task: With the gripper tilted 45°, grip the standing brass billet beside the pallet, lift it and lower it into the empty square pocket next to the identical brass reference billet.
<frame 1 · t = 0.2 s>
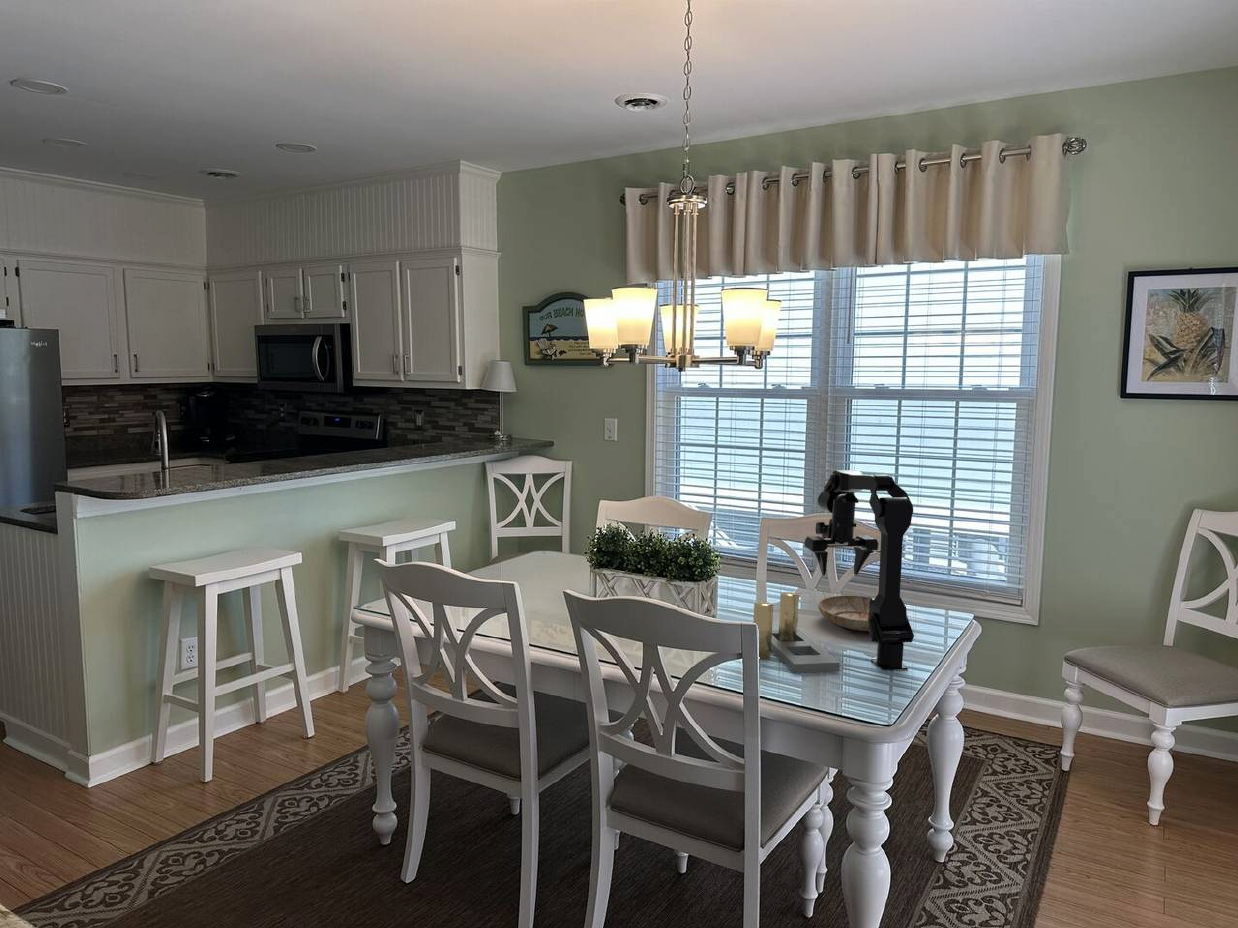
hand: (839, 574, 227), 15 cm above the table, tool pointing down, fingers open, 9 cm apart
ceramic bowl: (860, 625, 234), on the table
reference billet: (787, 644, 214), resting in pallet
pallet: (796, 653, 208), on the table
brass billet: (761, 656, 205), on the table
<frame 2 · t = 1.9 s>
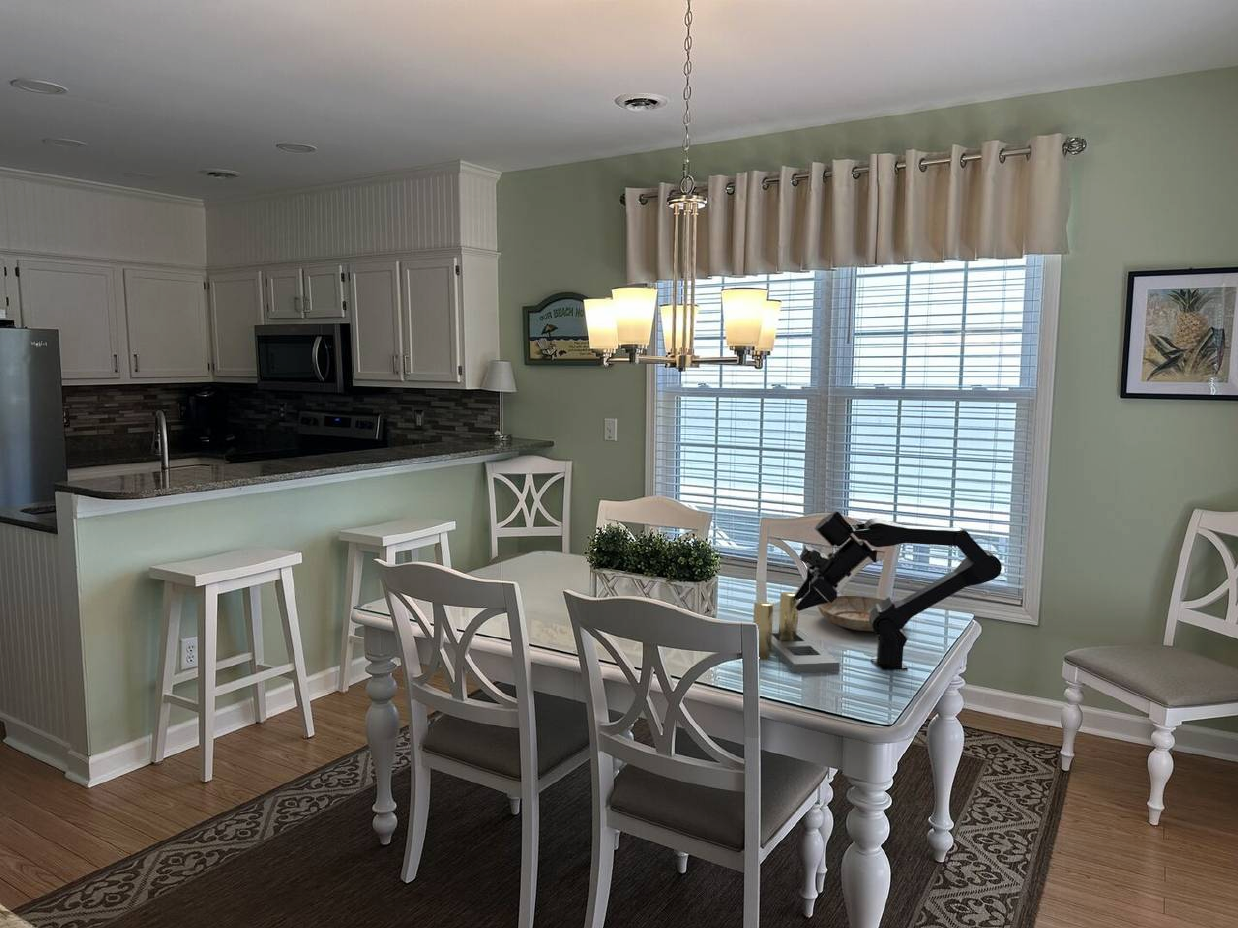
hand: (795, 603, 204), 13 cm above the table, tool tilted 45°, fingers open, 9 cm apart
nothing on the table moved.
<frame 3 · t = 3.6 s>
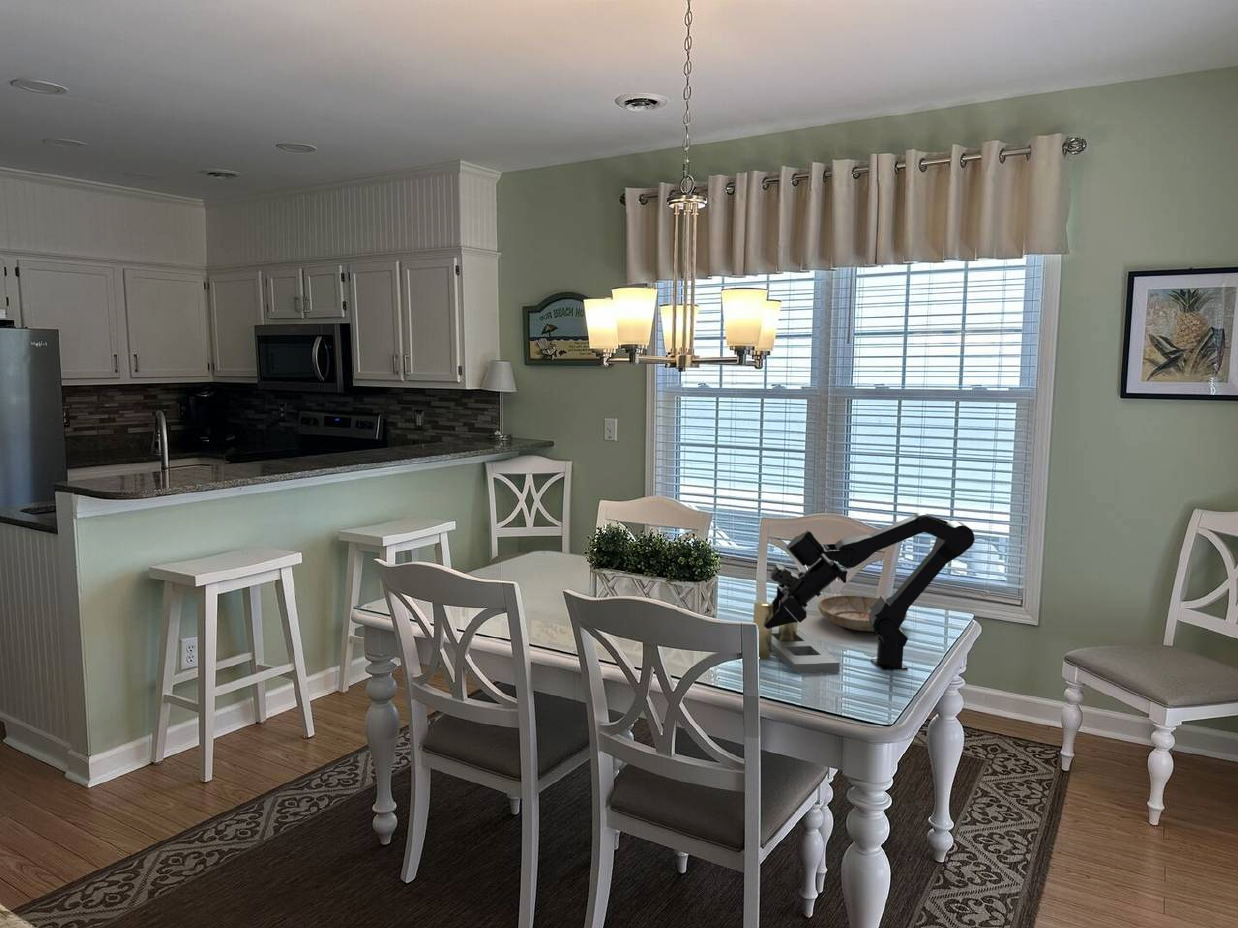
hand: (765, 621, 204), 9 cm above the table, tool tilted 45°, fingers open, 8 cm apart
nothing on the table moved.
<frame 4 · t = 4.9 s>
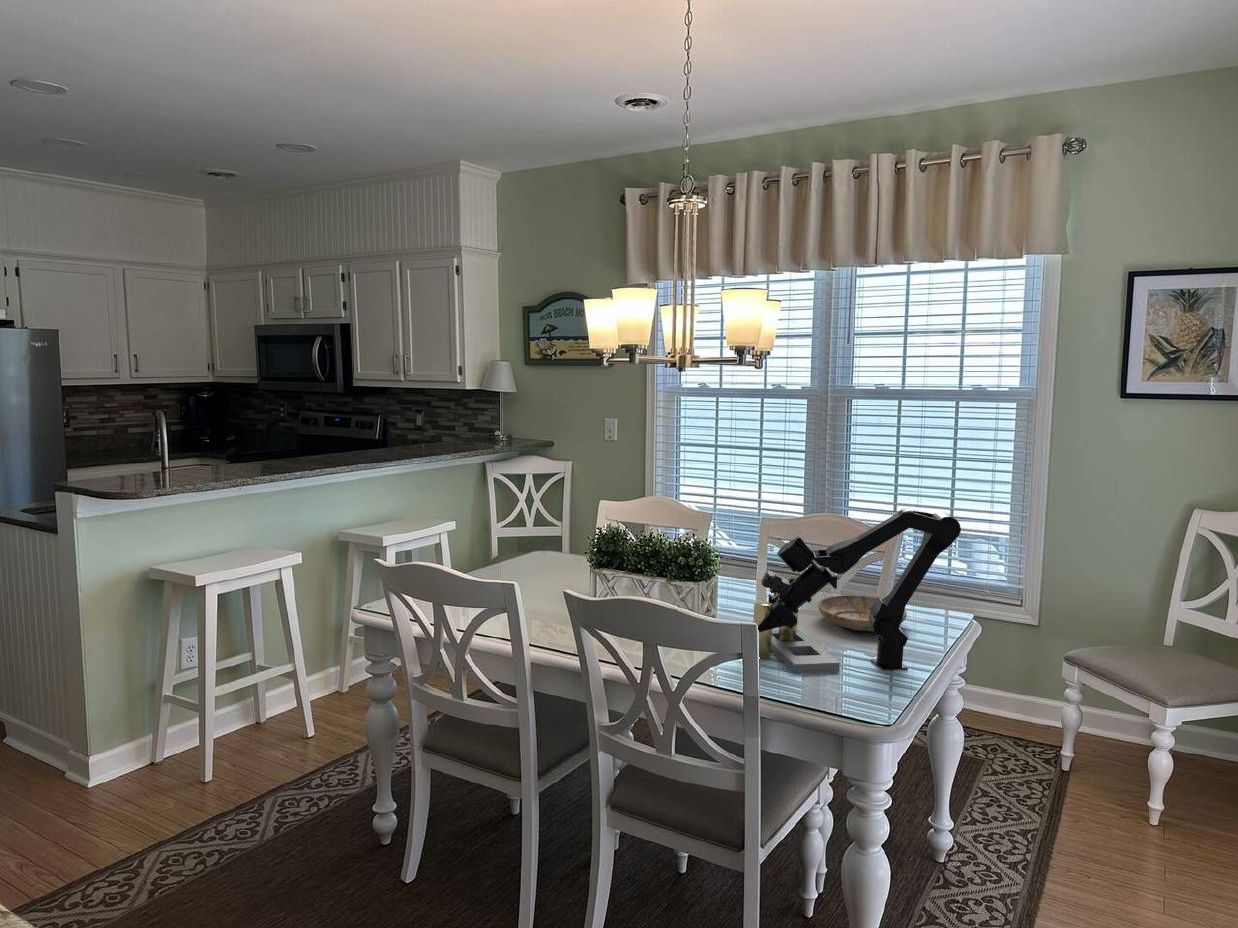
hand: (756, 627, 205), 7 cm above the table, tool tilted 45°, fingers closed on brass billet, 4 cm apart
brass billet: (761, 656, 205), on the table, touching gripper
everything else where it was.
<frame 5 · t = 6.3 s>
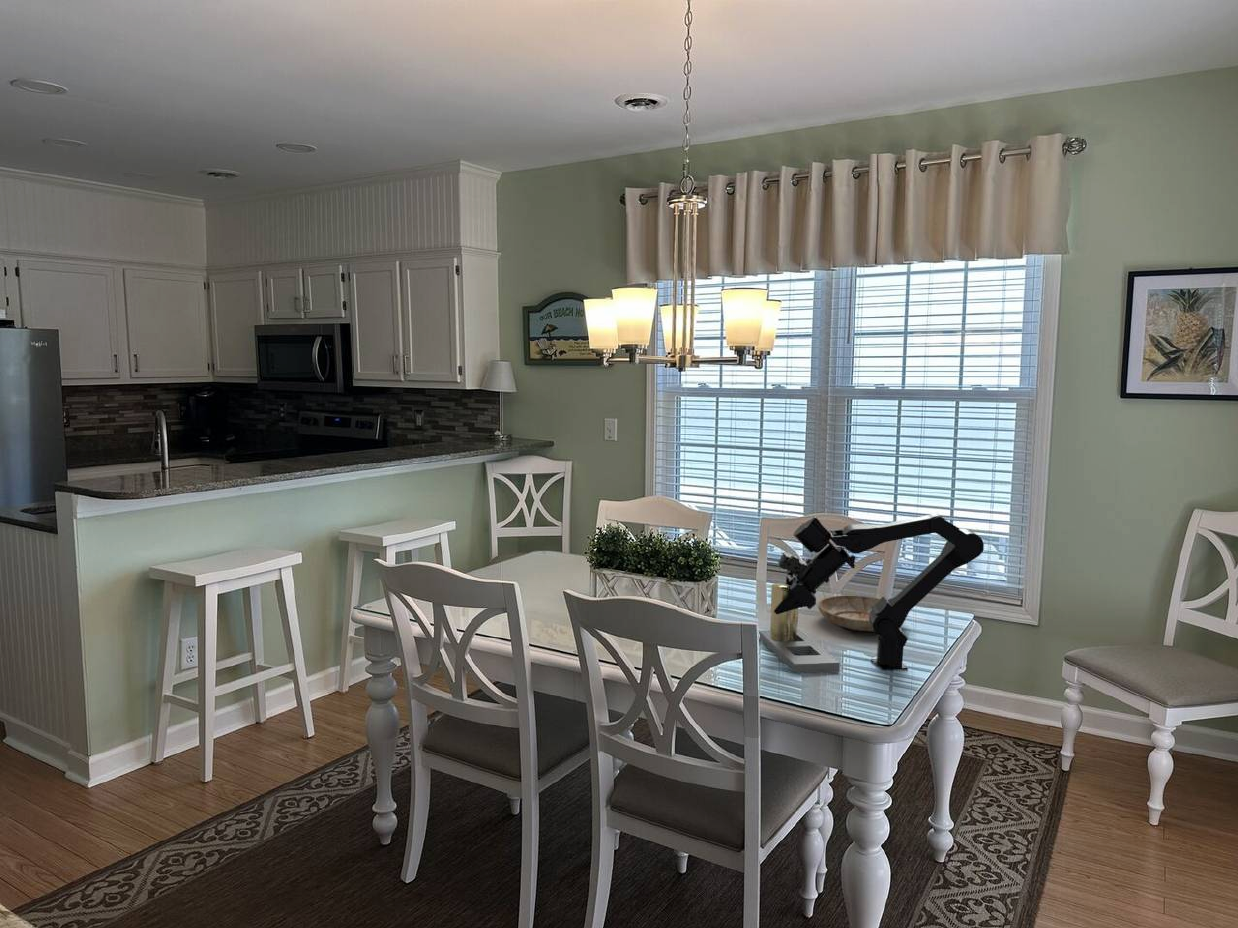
hand: (774, 609, 204), 12 cm above the table, tool tilted 45°, fingers closed on brass billet, 4 cm apart
brass billet: (779, 638, 205), point 5 cm above the table, touching gripper
everything else where it was.
when the fingers open (8 cm above the table, at t = 7.9 s): brass billet drops 1 cm, resting in pallet.
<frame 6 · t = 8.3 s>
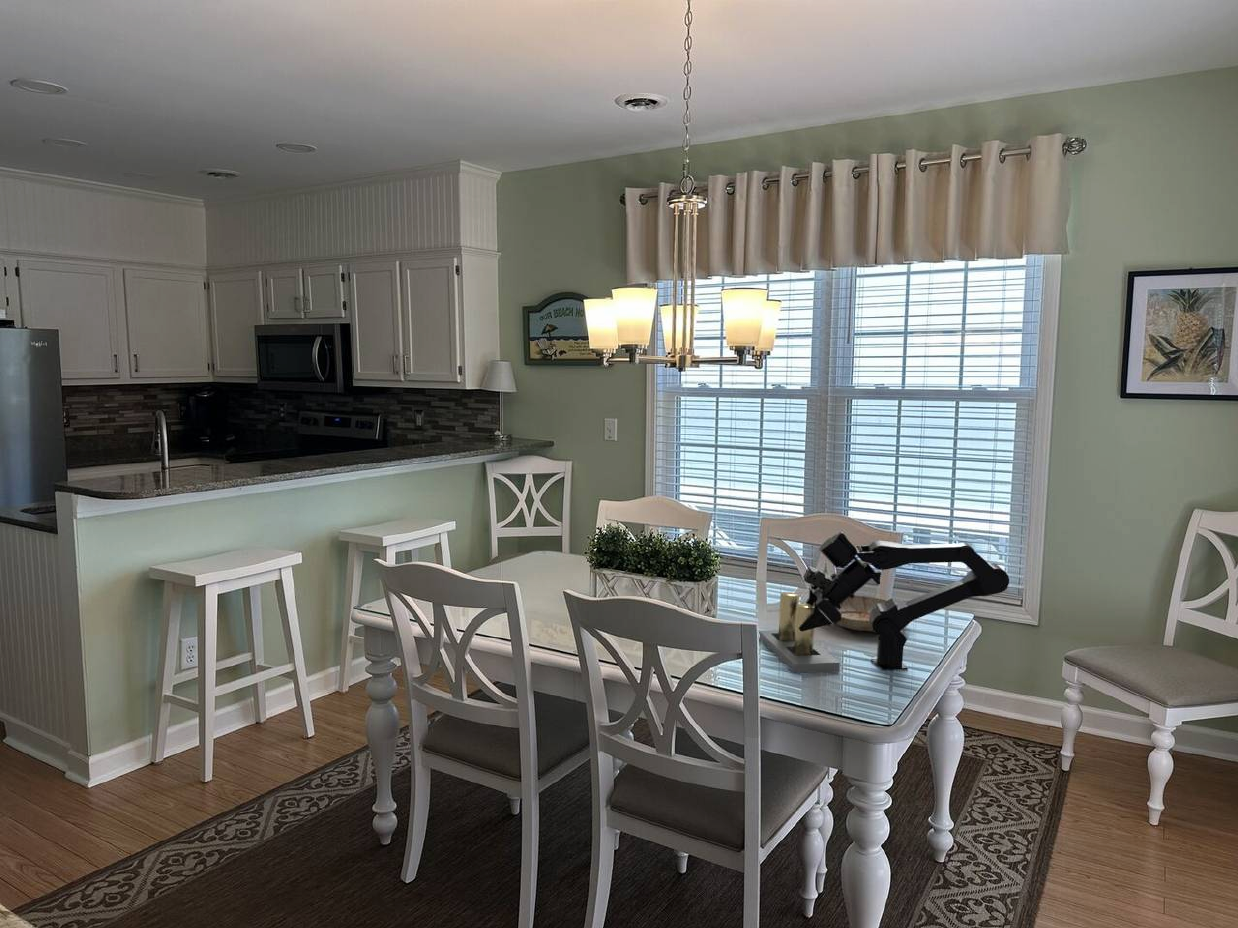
hand: (798, 623, 204), 9 cm above the table, tool tilted 45°, fingers open, 9 cm apart
brass billet: (802, 658, 205), resting in pallet
everything else where it was.
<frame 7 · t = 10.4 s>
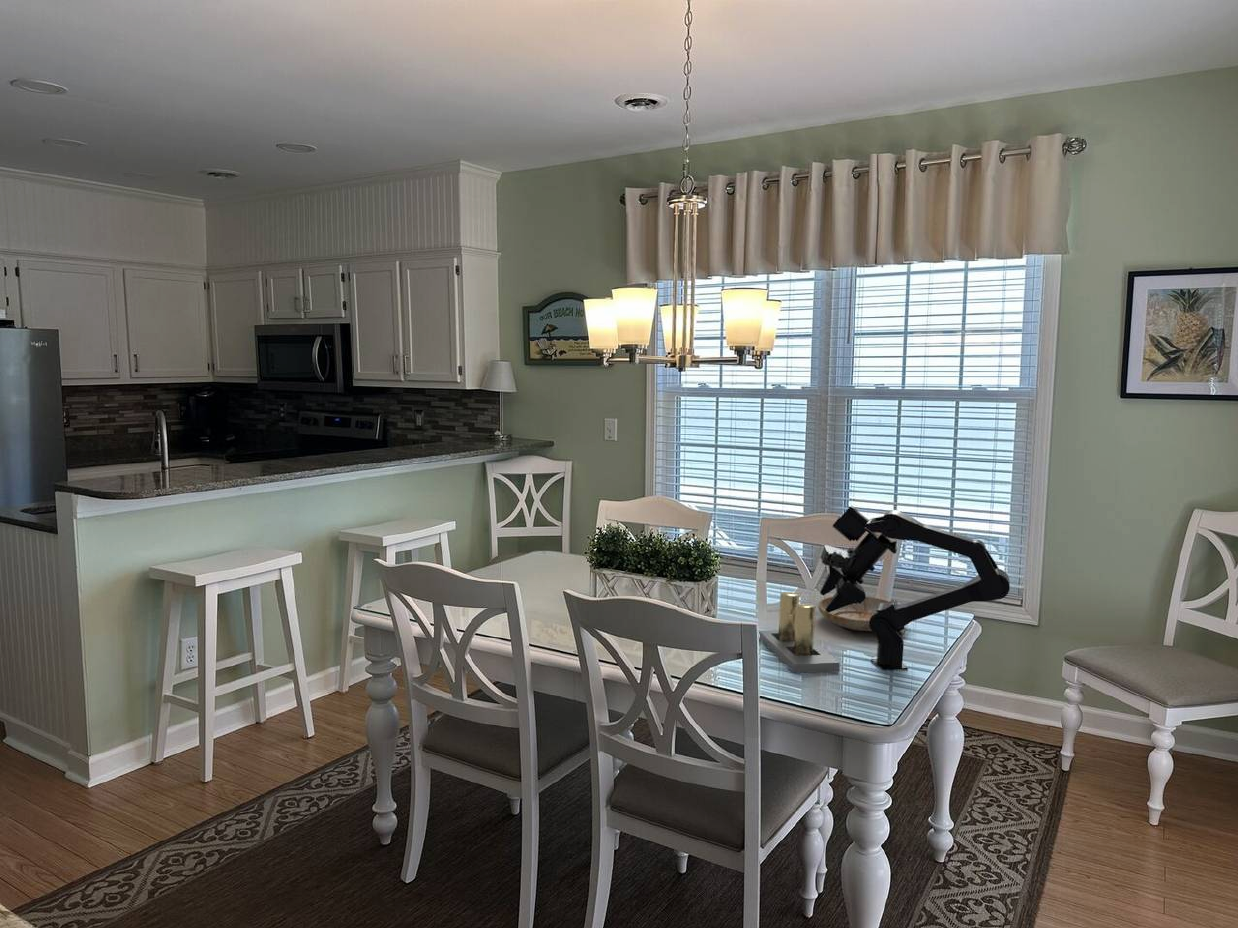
hand: (824, 602, 206), 13 cm above the table, tool tilted 35°, fingers open, 9 cm apart
nothing on the table moved.
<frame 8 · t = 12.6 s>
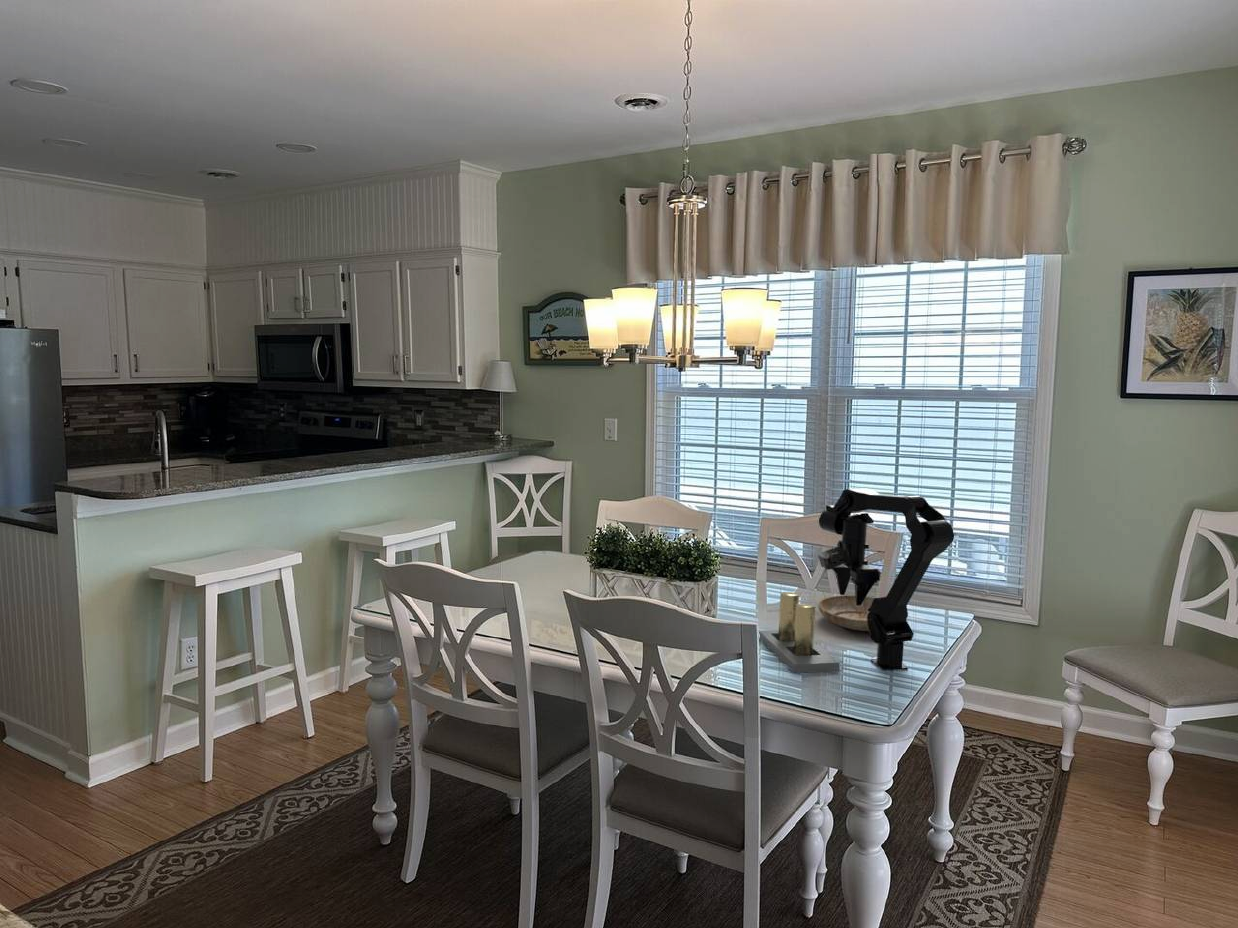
hand: (850, 599, 213), 12 cm above the table, tool pointing down, fingers open, 9 cm apart
nothing on the table moved.
at the end: brass billet 0.1 cm from the target spot on the pallet, point 0.0 cm above the pallet's base; brass billet tilted 0°; the gripper is holding nothing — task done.
